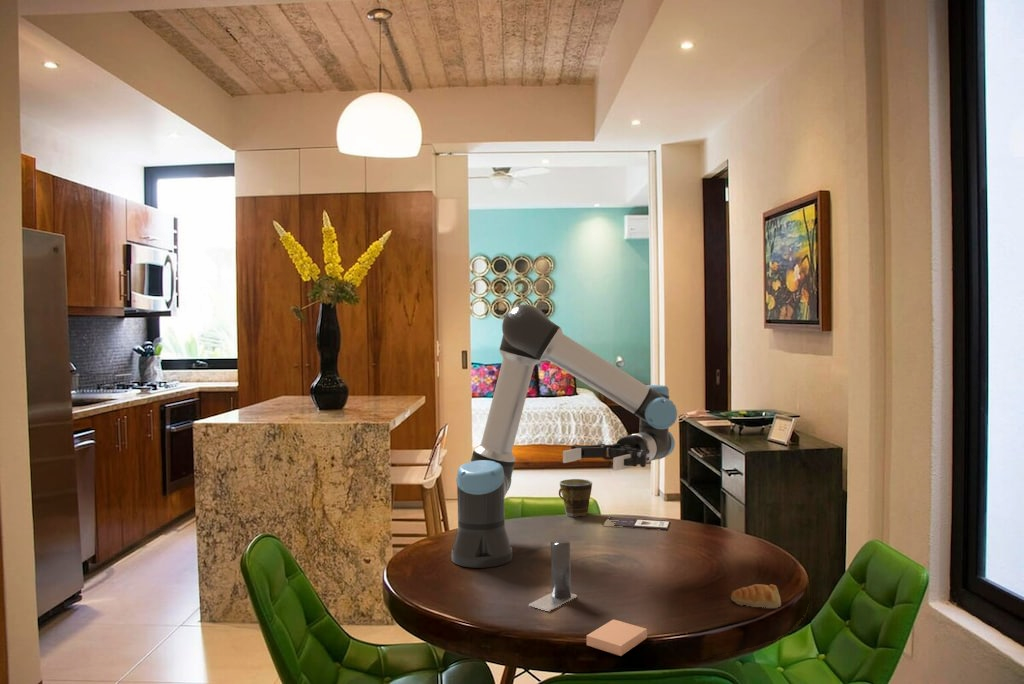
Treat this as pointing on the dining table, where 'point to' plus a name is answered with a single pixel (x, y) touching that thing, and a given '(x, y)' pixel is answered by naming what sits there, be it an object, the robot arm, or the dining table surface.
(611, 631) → the tile
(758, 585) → the pastry
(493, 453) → the robot arm
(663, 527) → the chocolate bar
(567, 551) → the metal post on base
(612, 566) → the dining table surface
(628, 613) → the dining table surface
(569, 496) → the ceramic cup
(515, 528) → the dining table surface
